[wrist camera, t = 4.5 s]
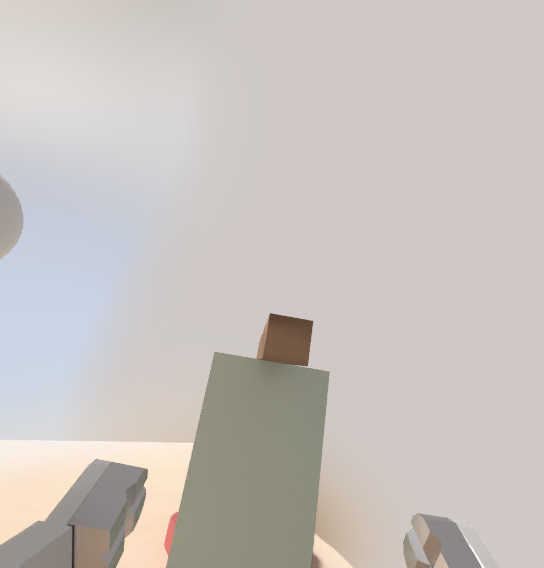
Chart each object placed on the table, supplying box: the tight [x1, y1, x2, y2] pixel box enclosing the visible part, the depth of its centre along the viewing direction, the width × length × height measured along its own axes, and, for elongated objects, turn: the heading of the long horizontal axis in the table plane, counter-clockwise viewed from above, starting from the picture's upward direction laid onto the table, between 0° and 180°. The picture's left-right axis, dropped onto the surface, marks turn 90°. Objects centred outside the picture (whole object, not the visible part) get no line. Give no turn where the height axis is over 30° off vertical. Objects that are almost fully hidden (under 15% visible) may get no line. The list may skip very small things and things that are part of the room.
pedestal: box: [166, 352, 329, 568], centre depth 24 cm, size 12×10×26 cm
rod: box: [257, 314, 313, 366], centre depth 24 cm, size 22×2×2 cm, turn 4°
